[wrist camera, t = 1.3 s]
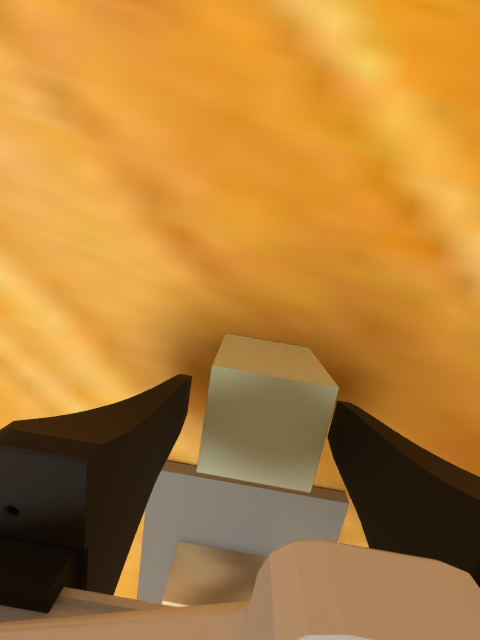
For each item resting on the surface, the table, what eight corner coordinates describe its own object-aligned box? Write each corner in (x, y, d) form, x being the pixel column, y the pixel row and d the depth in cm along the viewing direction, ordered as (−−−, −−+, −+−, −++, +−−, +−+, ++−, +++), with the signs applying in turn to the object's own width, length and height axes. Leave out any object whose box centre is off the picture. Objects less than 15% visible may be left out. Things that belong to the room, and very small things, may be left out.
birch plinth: (278, 559, 16) (284, 623, 13) (260, 630, 17) (262, 701, 15) (178, 541, 16) (162, 600, 13) (168, 613, 18) (152, 681, 15)
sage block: (308, 347, 14) (339, 387, 9) (291, 420, 15) (310, 492, 10) (226, 332, 14) (212, 365, 9) (214, 407, 15) (196, 472, 10)
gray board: (344, 492, 16) (349, 503, 15) (300, 636, 19) (302, 652, 18) (154, 458, 16) (149, 468, 15) (139, 606, 19) (134, 620, 18)
